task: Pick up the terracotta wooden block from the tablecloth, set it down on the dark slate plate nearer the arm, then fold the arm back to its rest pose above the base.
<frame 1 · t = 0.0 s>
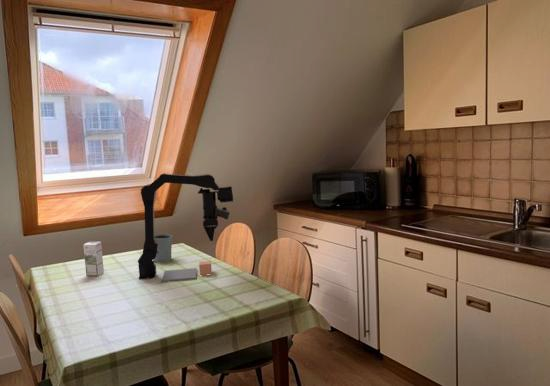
hand: (211, 238, 195), 15 cm above the table, tool pointing down, fingers open, 9 cm apart
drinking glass: (163, 260, 219), on the table
slate plate: (180, 275, 192), on the table
terracotta block: (205, 273, 194), on the table
syrup box: (95, 274, 200), on the table
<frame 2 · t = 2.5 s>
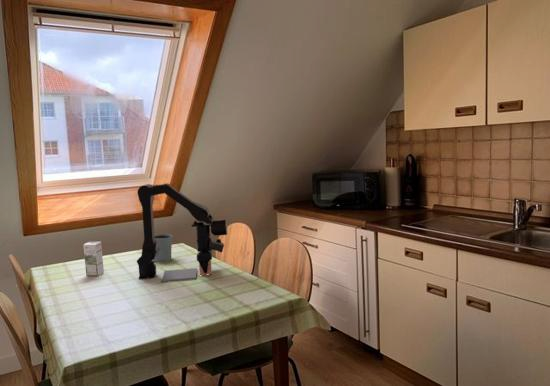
hand: (205, 271, 194), 1 cm above the table, tool pointing down, fingers closed on terracotta block, 5 cm apart
terracotta block: (205, 273, 194), on the table, touching gripper
everything else where it was.
when the fingers open (3 cm above the table, at t = 6.9 s): terracotta block drops 2 cm, resting on slate plate.
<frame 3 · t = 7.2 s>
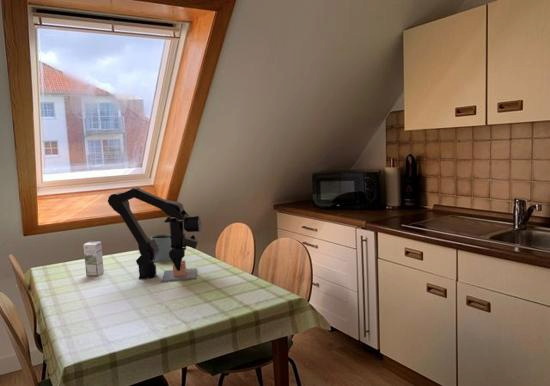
hand: (179, 267, 192), 3 cm above the table, tool pointing down, fingers open, 8 cm apart
terracotta block: (179, 273, 192), point 1 cm above the table, touching slate plate
everything else where it was.
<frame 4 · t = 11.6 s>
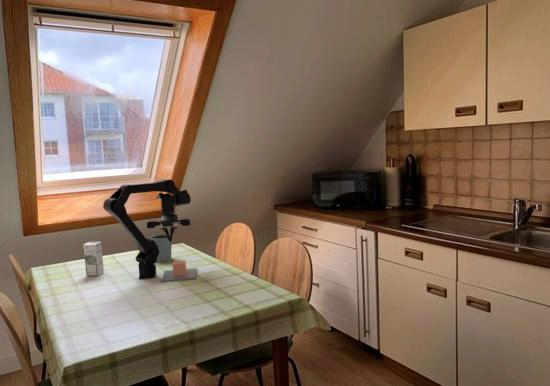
hand: (170, 241, 200), 13 cm above the table, tool pointing down, fingers closed
nothing on the table moved.
at the end: terracotta block inside the target area on the slate plate (0.0 cm from its centre), point 0.8 cm above the slate plate's base; terracotta block tilted 0°; the gripper is holding nothing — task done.
